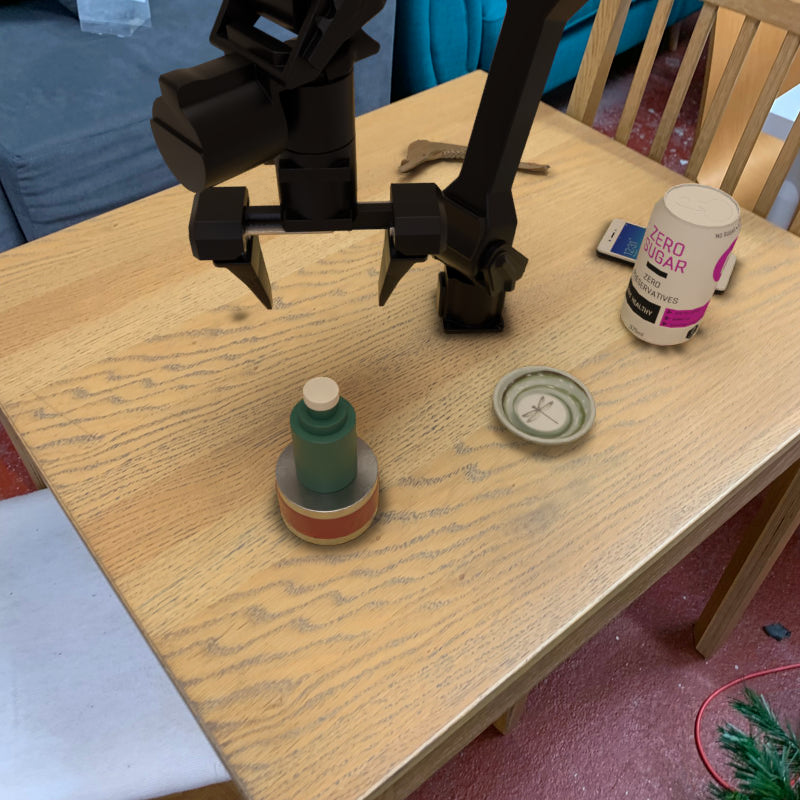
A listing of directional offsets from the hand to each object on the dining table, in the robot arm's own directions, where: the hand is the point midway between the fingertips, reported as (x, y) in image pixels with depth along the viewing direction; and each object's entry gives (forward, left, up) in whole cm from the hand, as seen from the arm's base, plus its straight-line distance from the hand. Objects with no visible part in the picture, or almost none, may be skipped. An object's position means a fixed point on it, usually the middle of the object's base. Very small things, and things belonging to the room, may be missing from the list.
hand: (325, 304), depth 64 cm
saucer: (-20, +2, -13) cm, 24 cm away
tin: (0, +11, -13) cm, 17 cm away
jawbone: (-18, -40, -13) cm, 45 cm away
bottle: (0, +11, -8) cm, 14 cm away
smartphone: (-39, -22, -13) cm, 46 cm away
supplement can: (-35, -11, -13) cm, 39 cm away
